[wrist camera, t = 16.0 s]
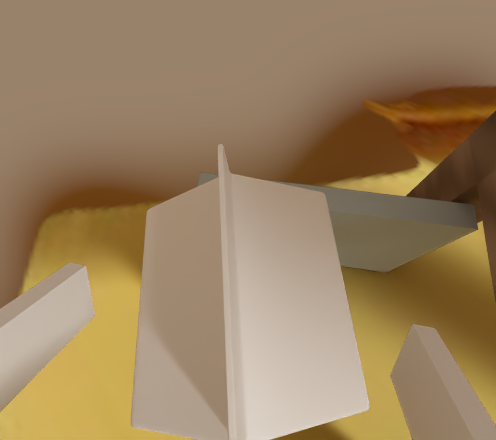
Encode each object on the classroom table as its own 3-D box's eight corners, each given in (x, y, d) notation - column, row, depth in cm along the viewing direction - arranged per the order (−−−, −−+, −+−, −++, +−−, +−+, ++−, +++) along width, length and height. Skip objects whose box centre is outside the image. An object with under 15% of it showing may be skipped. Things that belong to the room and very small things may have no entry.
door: (385, 241, 27) (470, 178, 16) (385, 272, 26) (478, 229, 14) (229, 219, 29) (206, 150, 18) (223, 247, 27) (194, 192, 16)
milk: (285, 283, 26) (362, 117, 6) (294, 352, 24) (476, 479, 3) (223, 288, 26) (86, 144, 6) (226, 357, 24) (15, 512, 4)
